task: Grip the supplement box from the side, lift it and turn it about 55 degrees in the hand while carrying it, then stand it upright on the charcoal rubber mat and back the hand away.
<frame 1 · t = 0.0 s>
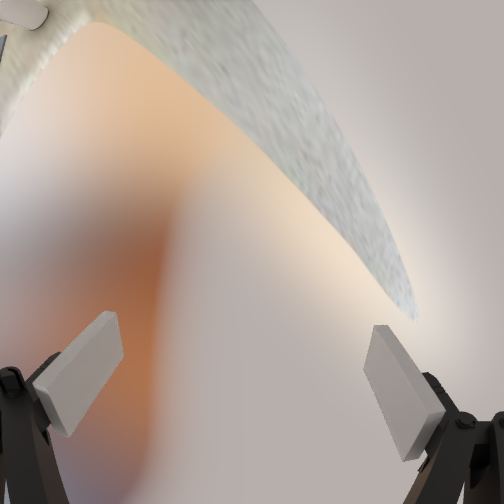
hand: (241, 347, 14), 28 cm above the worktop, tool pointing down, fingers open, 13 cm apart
drinking glass: (39, 19, 32), on the worktop
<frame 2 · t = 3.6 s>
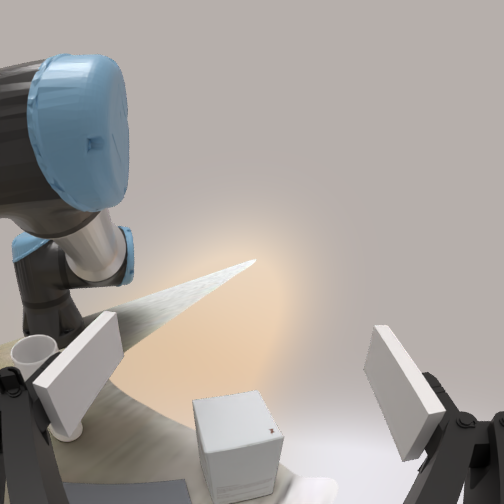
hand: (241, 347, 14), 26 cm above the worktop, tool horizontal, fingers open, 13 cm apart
drinking glass: (68, 431, 32), on the worktop
supplement box: (234, 479, 29), on the worktop
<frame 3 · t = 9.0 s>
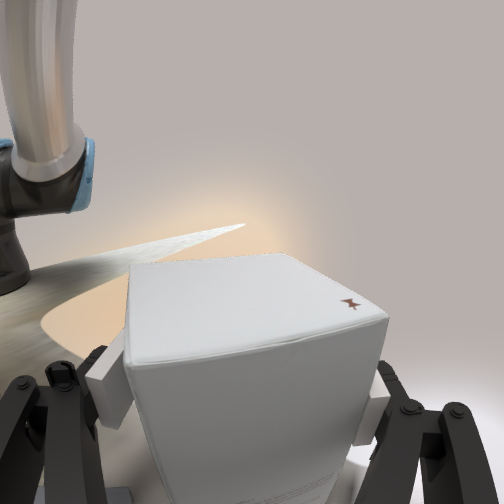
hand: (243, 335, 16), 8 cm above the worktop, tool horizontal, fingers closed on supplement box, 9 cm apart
supplement box: (236, 488, 13), on the worktop, touching gripper
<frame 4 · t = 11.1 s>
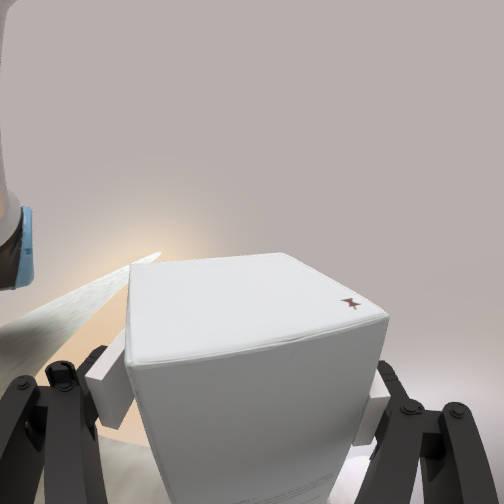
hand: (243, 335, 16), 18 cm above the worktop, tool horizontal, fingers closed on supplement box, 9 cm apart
supplement box: (236, 488, 13), point 9 cm above the worktop, touching gripper
when the fingers open (10 cm above the worktop, at t = 13.7 s): supplement box drops 2 cm, resting on rubber mat.
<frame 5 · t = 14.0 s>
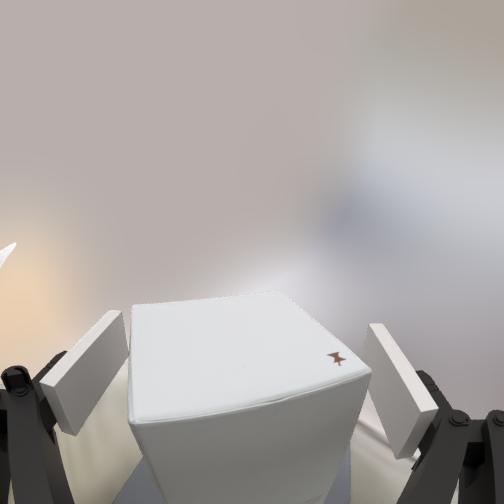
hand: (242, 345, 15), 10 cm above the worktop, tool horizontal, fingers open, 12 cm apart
rubber mat: (236, 503, 14), on the worktop
supplement box: (234, 501, 14), resting on rubber mat
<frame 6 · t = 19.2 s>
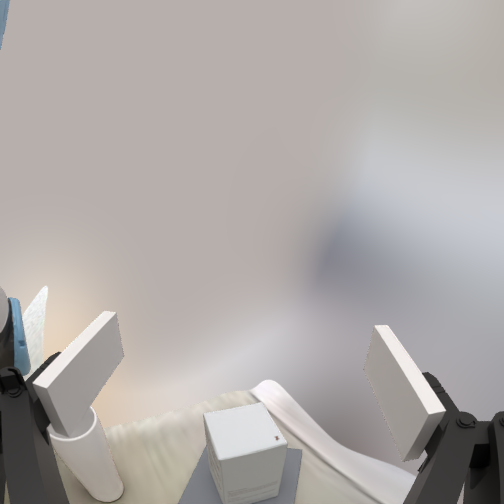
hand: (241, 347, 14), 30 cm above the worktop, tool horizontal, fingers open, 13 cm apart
drinking glass: (106, 489, 27), on the worktop
rubber mat: (243, 485, 31), on the worktop
supplement box: (242, 484, 31), resting on rubber mat
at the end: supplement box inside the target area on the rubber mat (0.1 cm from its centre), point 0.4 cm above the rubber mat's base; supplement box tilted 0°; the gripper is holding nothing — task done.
